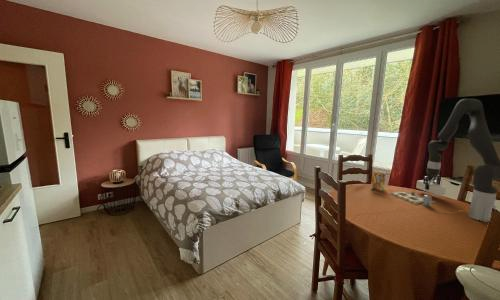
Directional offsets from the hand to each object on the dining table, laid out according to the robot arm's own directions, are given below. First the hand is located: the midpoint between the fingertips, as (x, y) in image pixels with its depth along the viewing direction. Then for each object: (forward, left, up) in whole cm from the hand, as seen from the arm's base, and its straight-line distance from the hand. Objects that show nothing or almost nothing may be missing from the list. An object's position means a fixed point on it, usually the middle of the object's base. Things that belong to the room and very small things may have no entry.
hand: (430, 189), depth 162 cm
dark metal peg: (-13, +21, -6) cm, 26 cm away
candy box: (+22, +26, -6) cm, 35 cm away
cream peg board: (0, +21, -6) cm, 22 cm away
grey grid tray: (0, +11, -6) cm, 13 cm away
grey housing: (0, 0, -2) cm, 2 cm away
